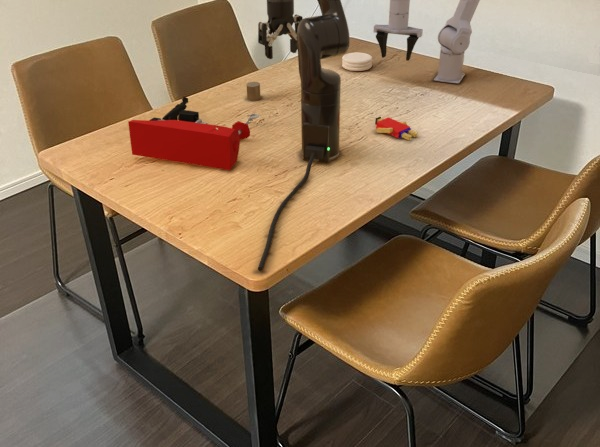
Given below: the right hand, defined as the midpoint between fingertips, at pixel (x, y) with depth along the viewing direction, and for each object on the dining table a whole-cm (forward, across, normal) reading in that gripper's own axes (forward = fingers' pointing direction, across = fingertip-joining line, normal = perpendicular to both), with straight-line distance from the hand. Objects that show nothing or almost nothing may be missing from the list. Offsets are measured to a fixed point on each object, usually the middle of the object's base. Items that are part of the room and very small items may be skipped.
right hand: (395, 58), depth 189 cm
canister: (+9, -35, -26) cm, 45 cm away
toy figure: (+9, +11, -34) cm, 37 cm away
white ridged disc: (+9, -17, +12) cm, 22 cm away
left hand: (-4, -28, -21) cm, 36 cm away
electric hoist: (+9, -33, -58) cm, 67 cm away
